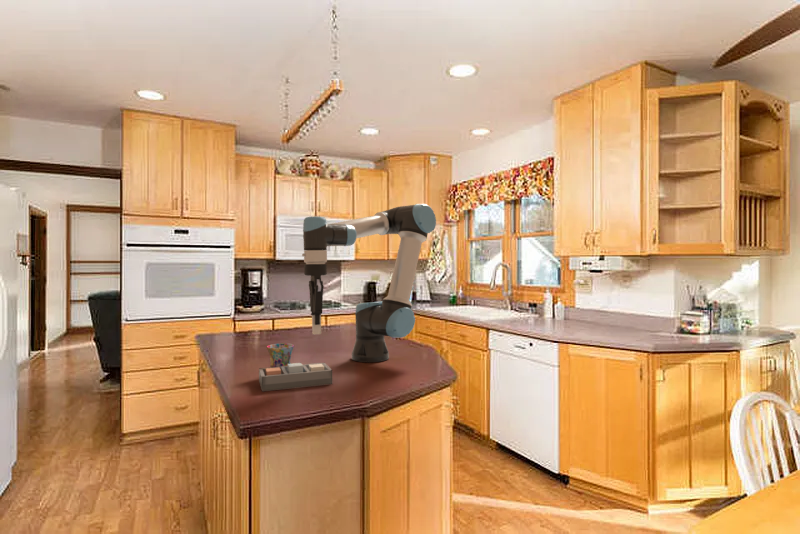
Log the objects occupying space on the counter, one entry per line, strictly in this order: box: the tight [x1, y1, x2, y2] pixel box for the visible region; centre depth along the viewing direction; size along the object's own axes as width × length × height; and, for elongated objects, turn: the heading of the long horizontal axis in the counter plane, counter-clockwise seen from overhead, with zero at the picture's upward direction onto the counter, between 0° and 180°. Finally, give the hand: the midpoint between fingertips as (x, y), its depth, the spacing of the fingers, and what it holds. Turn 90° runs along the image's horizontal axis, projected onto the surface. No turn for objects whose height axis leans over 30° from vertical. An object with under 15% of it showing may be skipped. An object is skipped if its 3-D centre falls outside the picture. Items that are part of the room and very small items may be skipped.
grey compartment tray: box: [258, 362, 333, 392], centre depth 150 cm, size 22×12×4 cm, turn 111°
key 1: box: [266, 367, 281, 376], centre depth 148 cm, size 4×4×2 cm
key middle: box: [287, 362, 303, 374], centre depth 150 cm, size 4×4×2 cm
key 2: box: [309, 363, 324, 372], centre depth 153 cm, size 4×4×2 cm
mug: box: [266, 342, 295, 367], centre depth 161 cm, size 12×9×11 cm
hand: (316, 334), depth 153 cm, fingers closed
